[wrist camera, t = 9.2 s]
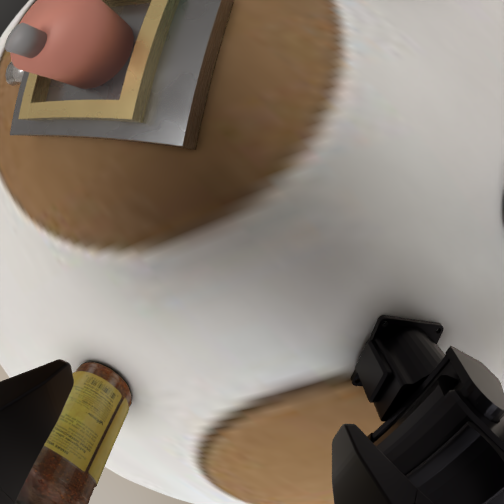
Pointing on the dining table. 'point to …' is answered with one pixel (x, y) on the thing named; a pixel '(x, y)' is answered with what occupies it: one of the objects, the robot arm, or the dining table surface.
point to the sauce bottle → (79, 439)
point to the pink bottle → (71, 42)
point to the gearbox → (135, 80)
